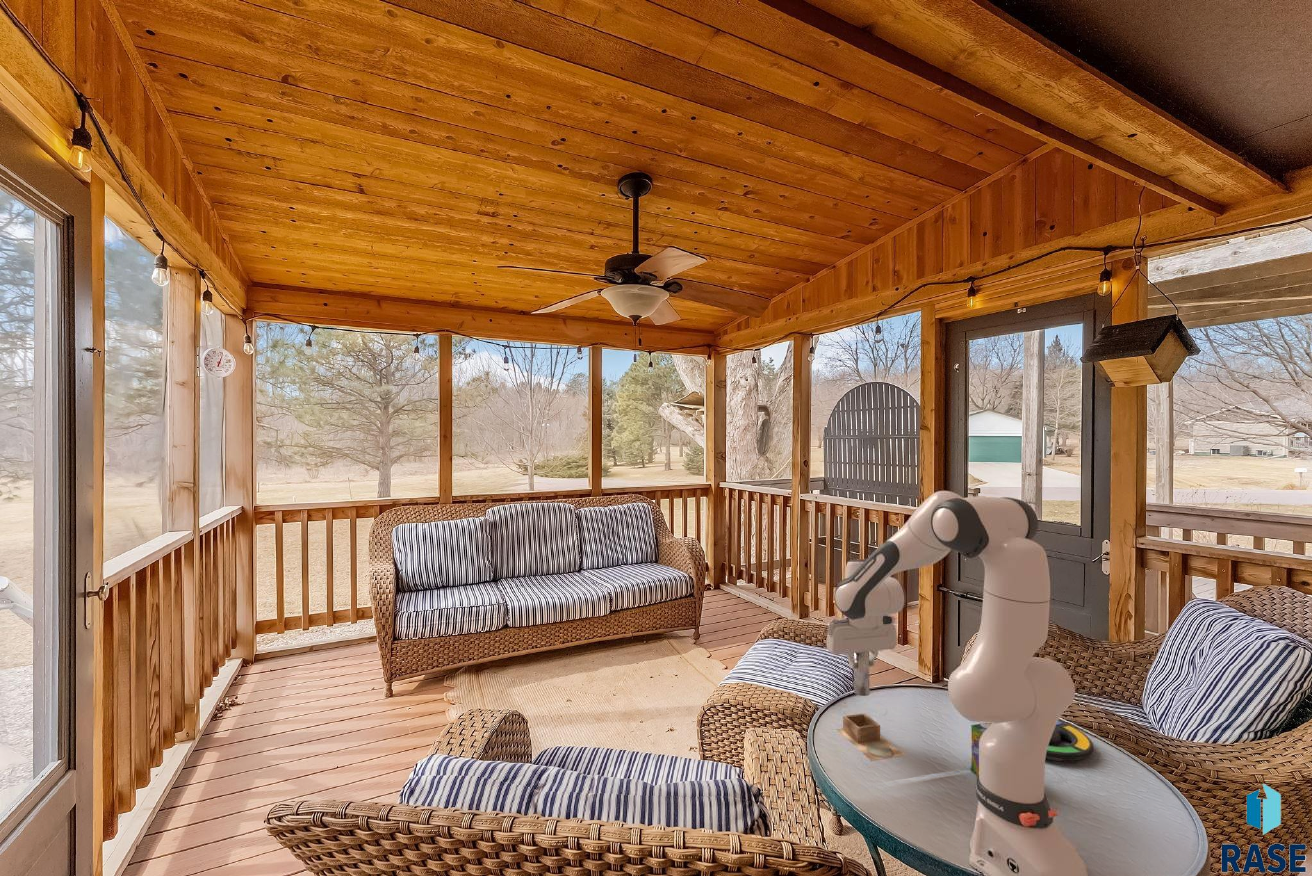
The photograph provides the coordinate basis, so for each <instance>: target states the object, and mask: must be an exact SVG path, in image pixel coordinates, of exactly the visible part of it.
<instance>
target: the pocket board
mask: <svg viewBox="0 0 1312 876" xmlns="http://www.w3.org/2000/svg"><path fill="white" fill-rule="evenodd" d="M836 731H837V732H838V733H839V734H841V735H842V737H844V738H845V739H846V740H847V741H849V743H851V744H852V745H853V746H855V748H856V749H857V750H859V751H860V752H861V753H862V754H863V755H864V756H865V757H866V758H867V759H868V760H870V761H871V762H872V761H877V760H878V761H879V760H884V759H891V758H897V757H902V756H905V754H904V753H903V752H902V751H900V750H899V749H898V748H897V747H895V746H894V745H893V744H892V743H891V742H889V741H888V740H887V739H886V738H884V737H883V736H881V724H879V723H878V722H877V721H875V720H874V719H873V718H872V717H871V716H869V715H867V714H866V713H857V714H850V715H843V716H842V728H837V729H836Z"/></svg>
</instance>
